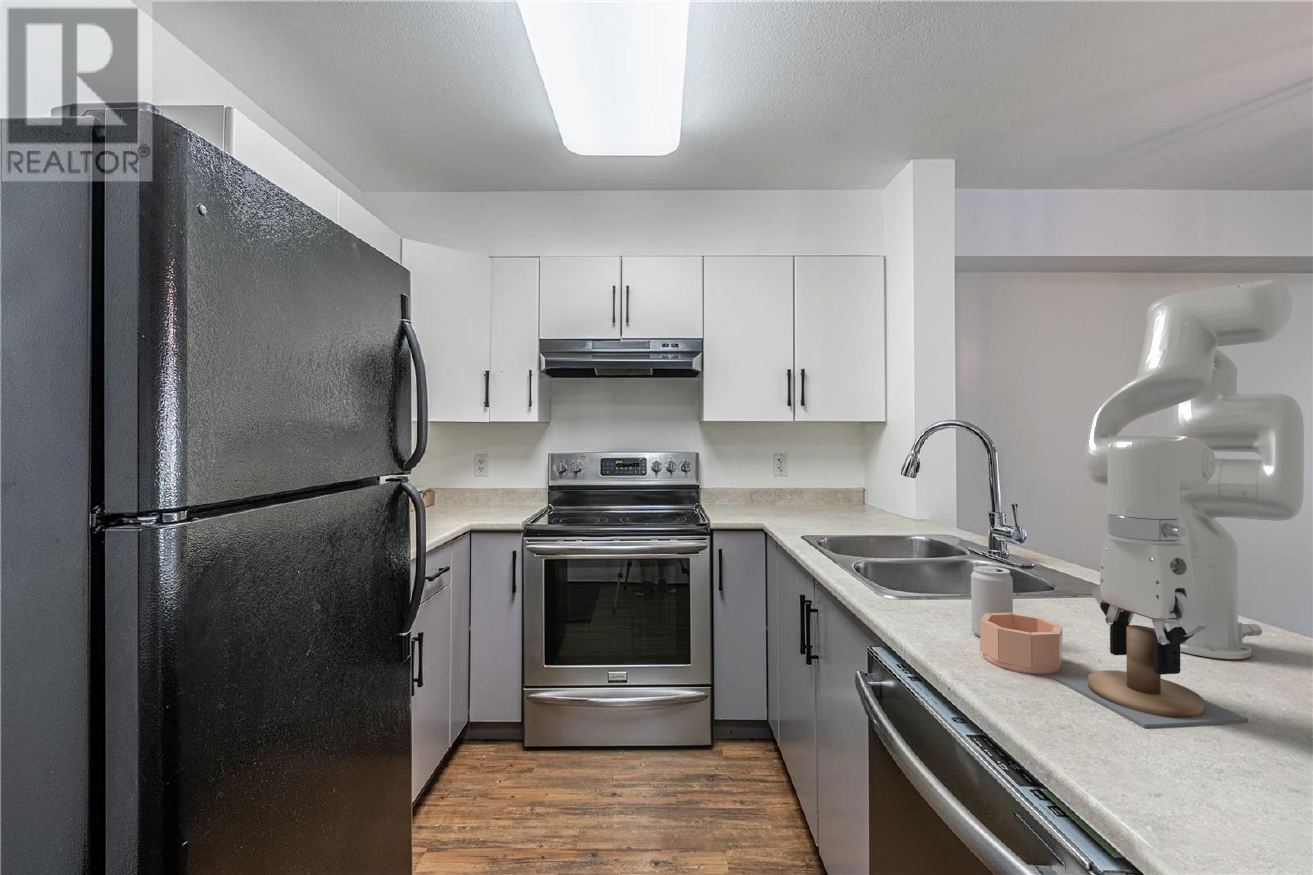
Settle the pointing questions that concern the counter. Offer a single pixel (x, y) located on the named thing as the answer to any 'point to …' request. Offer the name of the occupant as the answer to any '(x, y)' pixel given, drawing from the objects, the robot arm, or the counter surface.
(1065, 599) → the counter surface
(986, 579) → the beverage can
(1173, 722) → the mat
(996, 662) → the bowl
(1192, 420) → the robot arm
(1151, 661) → the lid
